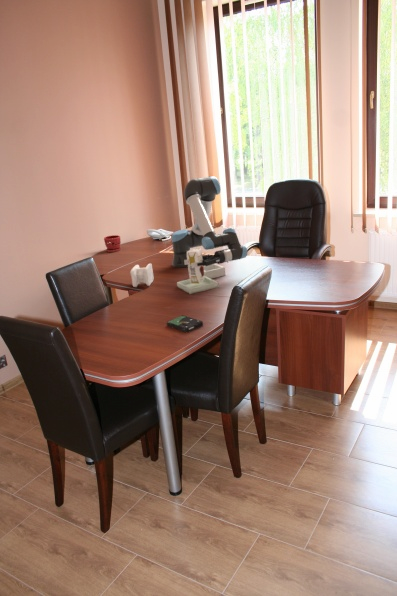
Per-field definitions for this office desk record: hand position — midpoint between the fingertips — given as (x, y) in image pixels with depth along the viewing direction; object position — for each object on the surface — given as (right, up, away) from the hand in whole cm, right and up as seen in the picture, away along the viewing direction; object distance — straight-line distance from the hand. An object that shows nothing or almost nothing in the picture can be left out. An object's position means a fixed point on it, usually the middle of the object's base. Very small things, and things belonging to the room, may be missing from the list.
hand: (188, 264), depth 280 cm
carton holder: (+14, -5, +27) cm, 31 cm away
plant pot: (-64, +19, +126) cm, 143 cm away
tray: (+5, -13, +6) cm, 15 cm away
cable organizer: (-28, -11, +24) cm, 38 cm away
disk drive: (0, -33, -49) cm, 59 cm away
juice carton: (+5, -10, +5) cm, 13 cm away
